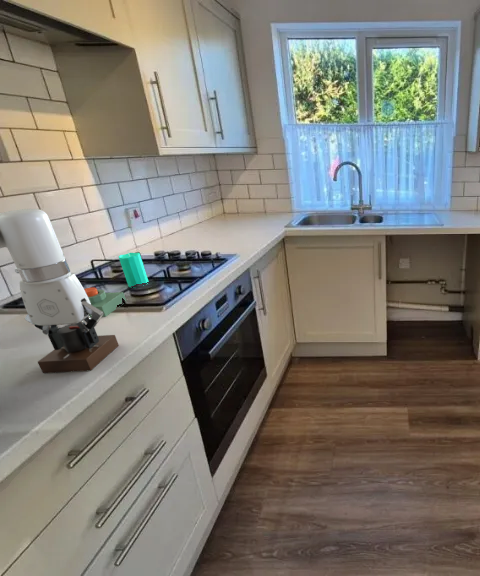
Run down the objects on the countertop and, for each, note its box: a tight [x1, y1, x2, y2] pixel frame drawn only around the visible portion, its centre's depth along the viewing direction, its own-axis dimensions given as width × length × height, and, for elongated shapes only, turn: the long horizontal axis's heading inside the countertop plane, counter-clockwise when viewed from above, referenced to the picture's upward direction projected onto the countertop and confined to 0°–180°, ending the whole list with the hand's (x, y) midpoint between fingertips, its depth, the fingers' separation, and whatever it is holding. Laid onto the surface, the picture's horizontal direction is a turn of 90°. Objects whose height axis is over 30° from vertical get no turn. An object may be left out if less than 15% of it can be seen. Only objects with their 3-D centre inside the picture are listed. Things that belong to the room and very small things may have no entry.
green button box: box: [88, 289, 127, 318], centre depth 104 cm, size 12×10×5 cm
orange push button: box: [84, 286, 98, 297], centre depth 103 cm, size 4×4×2 cm
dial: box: [57, 324, 87, 353], centre depth 80 cm, size 4×4×5 cm
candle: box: [118, 249, 149, 288], centre depth 121 cm, size 6×6×12 cm
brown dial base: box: [37, 334, 120, 374], centre depth 82 cm, size 10×10×3 cm
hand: (77, 345), depth 81 cm, fingers open, 6 cm apart
